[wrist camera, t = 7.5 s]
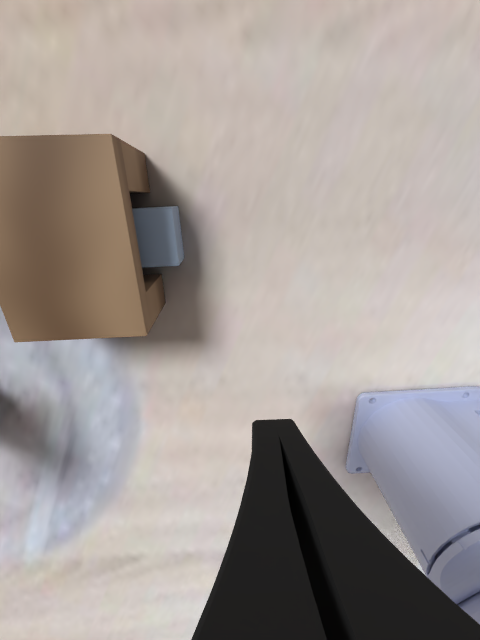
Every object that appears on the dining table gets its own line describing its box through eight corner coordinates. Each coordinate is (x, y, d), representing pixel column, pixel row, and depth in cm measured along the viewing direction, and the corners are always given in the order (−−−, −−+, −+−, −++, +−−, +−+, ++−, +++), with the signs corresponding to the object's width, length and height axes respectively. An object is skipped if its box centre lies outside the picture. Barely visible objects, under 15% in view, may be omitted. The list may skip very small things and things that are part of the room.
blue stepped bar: (178, 205, 16) (171, 206, 13) (185, 256, 17) (179, 265, 14) (-13, 214, 15) (-53, 217, 13) (6, 266, 16) (-28, 276, 14)
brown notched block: (144, 153, 14) (111, 133, 10) (165, 302, 17) (146, 336, 13) (22, 156, 14) (-65, 137, 10) (66, 307, 17) (14, 342, 13)
